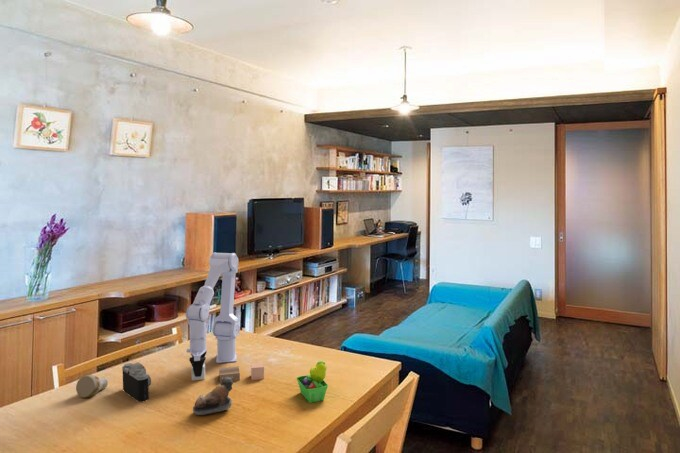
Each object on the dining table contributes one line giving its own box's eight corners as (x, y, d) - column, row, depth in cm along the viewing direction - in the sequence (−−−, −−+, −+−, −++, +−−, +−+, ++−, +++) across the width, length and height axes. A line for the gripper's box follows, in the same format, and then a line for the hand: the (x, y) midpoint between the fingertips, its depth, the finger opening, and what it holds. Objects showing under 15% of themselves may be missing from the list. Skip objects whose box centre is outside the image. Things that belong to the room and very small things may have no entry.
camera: (159, 396, 146) (158, 367, 146) (138, 403, 141) (138, 372, 141) (140, 384, 156) (140, 356, 156) (120, 390, 152) (120, 361, 151)
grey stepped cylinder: (115, 387, 154) (109, 368, 149) (92, 410, 147) (86, 391, 141) (98, 380, 156) (92, 361, 151) (75, 401, 149) (68, 382, 143)
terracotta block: (250, 375, 165) (250, 363, 164) (263, 374, 166) (262, 362, 165) (251, 380, 160) (251, 368, 160) (264, 379, 161) (263, 366, 161)
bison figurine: (194, 420, 130) (193, 387, 130) (191, 410, 137) (191, 378, 136) (235, 412, 135) (234, 380, 135) (231, 403, 142) (230, 372, 141)
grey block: (192, 375, 164) (192, 363, 164) (205, 374, 165) (205, 362, 165) (191, 380, 160) (191, 368, 160) (204, 379, 161) (204, 367, 161)
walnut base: (219, 376, 165) (219, 368, 165) (238, 374, 167) (238, 366, 167) (219, 383, 158) (219, 375, 158) (239, 381, 160) (239, 373, 160)
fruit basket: (295, 391, 150) (295, 358, 150) (320, 387, 154) (320, 355, 153) (306, 405, 140) (306, 370, 139) (332, 400, 143) (332, 366, 143)
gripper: (188, 332, 168) (188, 367, 168) (184, 344, 154) (185, 382, 154) (207, 331, 170) (207, 365, 170) (205, 342, 156) (206, 380, 156)
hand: (198, 373), depth 162 cm, fingers closed on grey block, 4 cm apart
